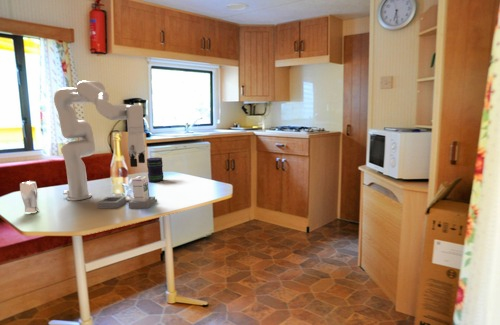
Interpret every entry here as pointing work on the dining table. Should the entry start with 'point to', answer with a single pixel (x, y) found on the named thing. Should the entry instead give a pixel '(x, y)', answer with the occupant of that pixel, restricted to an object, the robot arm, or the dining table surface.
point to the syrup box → (140, 189)
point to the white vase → (29, 195)
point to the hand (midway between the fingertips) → (137, 164)
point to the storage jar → (155, 170)
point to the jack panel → (118, 201)
